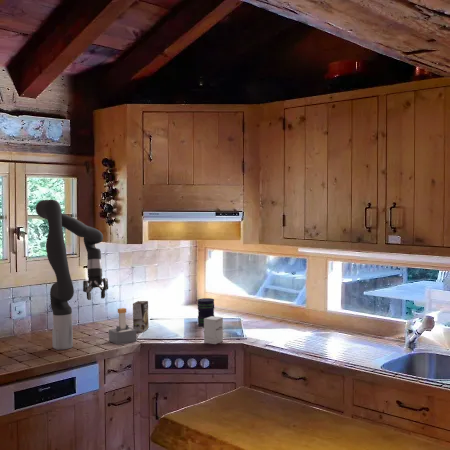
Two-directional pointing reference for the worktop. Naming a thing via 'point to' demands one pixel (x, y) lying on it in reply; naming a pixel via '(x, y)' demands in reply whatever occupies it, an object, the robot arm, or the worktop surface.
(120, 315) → the lever
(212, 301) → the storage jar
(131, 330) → the block
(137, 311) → the coffee box
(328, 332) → the worktop surface
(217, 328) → the supplement box
